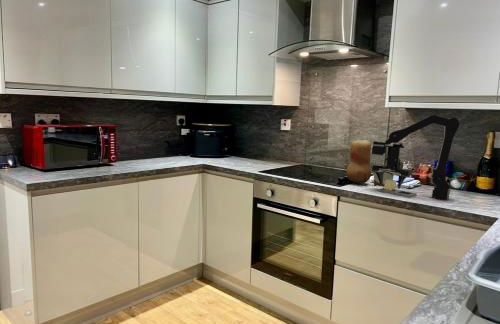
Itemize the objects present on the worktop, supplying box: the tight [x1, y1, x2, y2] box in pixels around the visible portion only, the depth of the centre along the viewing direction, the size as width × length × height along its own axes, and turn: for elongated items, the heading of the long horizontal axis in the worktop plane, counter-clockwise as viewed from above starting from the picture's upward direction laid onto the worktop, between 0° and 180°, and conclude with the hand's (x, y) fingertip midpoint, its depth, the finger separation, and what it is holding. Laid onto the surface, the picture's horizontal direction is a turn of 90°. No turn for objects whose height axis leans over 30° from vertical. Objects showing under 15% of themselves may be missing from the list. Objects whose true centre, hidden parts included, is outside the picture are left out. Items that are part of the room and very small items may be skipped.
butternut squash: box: [345, 139, 372, 185], centre depth 210 cm, size 14×13×25 cm
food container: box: [372, 169, 396, 188], centre depth 204 cm, size 12×6×10 cm, turn 41°
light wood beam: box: [383, 179, 397, 191], centre depth 188 cm, size 4×4×6 cm
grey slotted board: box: [377, 187, 418, 199], centre depth 185 cm, size 16×8×2 cm, turn 44°
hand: (389, 186), depth 188 cm, fingers open, 9 cm apart
